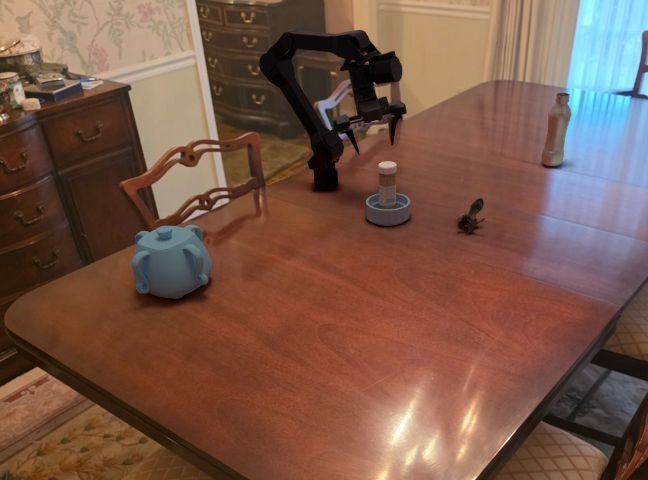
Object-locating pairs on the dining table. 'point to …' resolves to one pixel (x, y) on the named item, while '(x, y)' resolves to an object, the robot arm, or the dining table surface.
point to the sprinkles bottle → (387, 185)
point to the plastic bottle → (557, 131)
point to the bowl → (388, 211)
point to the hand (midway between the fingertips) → (375, 149)
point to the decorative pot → (170, 261)
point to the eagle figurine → (472, 215)
